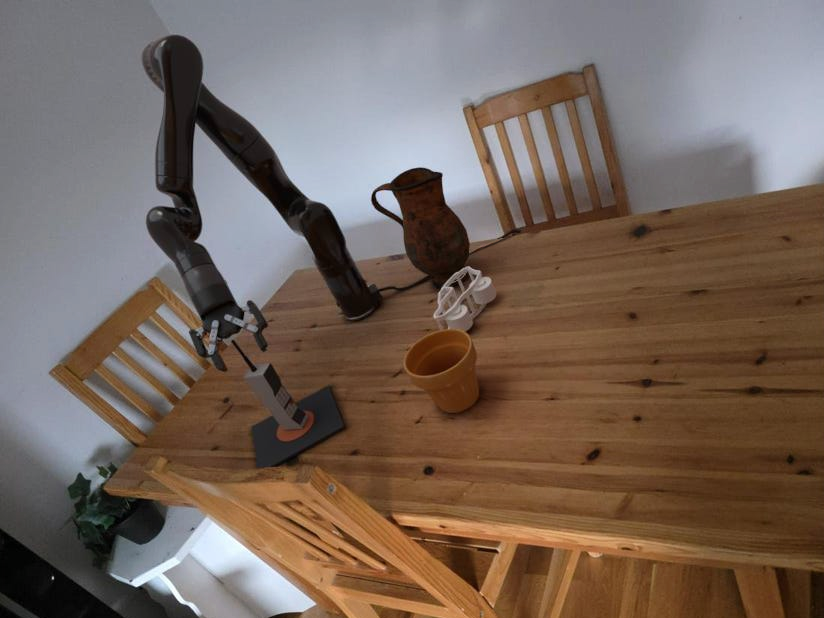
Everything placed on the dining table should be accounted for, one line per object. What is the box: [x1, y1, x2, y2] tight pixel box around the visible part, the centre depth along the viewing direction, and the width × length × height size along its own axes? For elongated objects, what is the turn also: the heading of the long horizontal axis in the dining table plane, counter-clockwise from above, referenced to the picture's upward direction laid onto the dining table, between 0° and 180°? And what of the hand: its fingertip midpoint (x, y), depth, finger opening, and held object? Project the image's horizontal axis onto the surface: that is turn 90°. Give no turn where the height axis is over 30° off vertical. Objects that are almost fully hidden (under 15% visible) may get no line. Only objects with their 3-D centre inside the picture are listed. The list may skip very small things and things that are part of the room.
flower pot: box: [403, 328, 480, 414], centre depth 120 cm, size 14×14×13 cm
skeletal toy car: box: [433, 265, 497, 332], centre depth 144 cm, size 20×11×7 cm, turn 147°
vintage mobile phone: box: [230, 339, 308, 430], centre depth 126 cm, size 4×5×25 cm
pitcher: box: [370, 166, 471, 290], centre depth 154 cm, size 17×21×30 cm
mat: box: [251, 384, 346, 469], centre depth 133 cm, size 20×17×1 cm
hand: (244, 360), depth 119 cm, fingers open, 8 cm apart
